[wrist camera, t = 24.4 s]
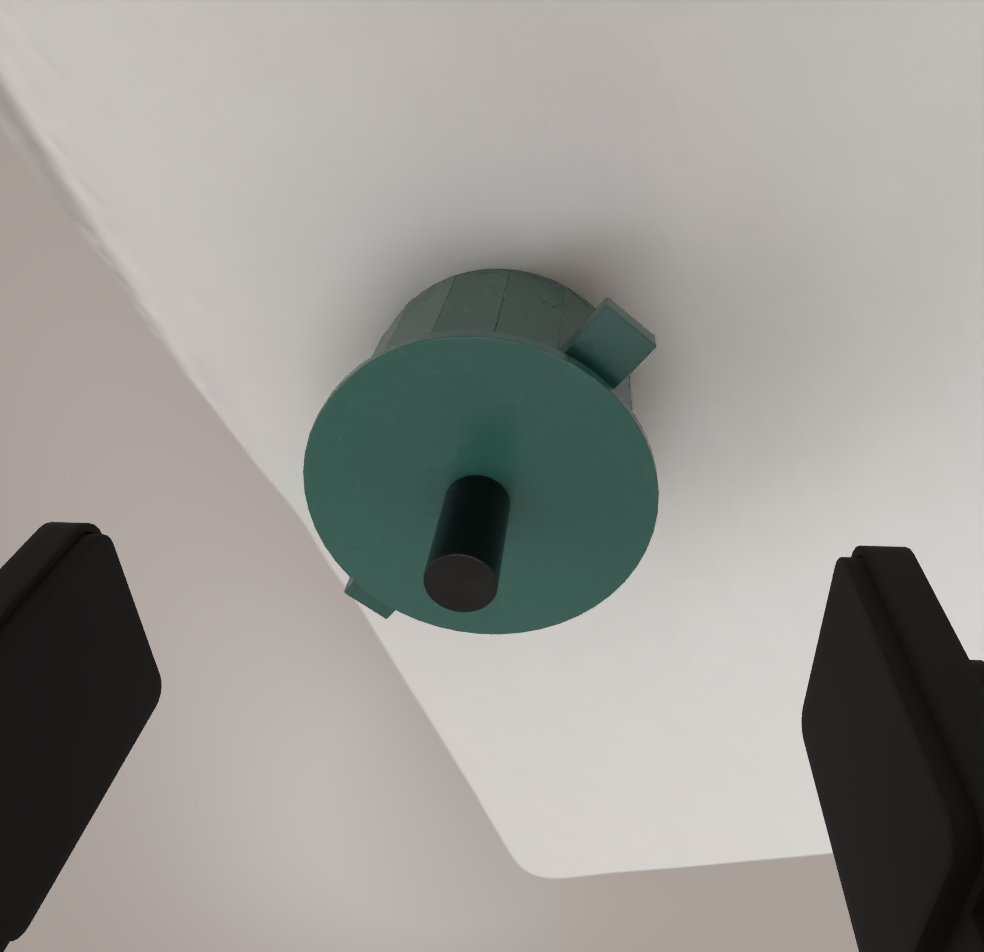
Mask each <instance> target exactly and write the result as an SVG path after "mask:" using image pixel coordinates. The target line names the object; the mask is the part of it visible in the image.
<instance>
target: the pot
mask: <svg viewBox="0 0 984 952" xmlns="http://www.w3.org/2000/svg"><path fill="white" fill-rule="evenodd" d="M469 330H480V331H489V332H499V333H506V334H510V335H514V336H519V337H523V338H528V339H531V340H534V341H536V342H539V343H542V344H545V345H547V346H550V347H553V348H555V349H557V350H559V351H561V352H563V353H565V354H567V355H569V356H570V357H572V358H574V359H576V360H578V361H579V362H581V363H582V364H584V365H585V366H586V367H588V368H589V369H591V370H592V371H594V372H595V373H597V374H598V375H599V376H600V377H601V378H602V379H603V380H604V381H606V382H607V383H608V384H609V385H610V386H611V387H612V388H613V389H614V390H615V391H616V392H617V393H618V394H619V395H620V397H621V398H622V399H623V400H624V401H625V402H626V404H627V405H628V406H629V407H630V409H631V410H632V400H631V388H630V375H629V374H630V373H631V372H632V371H633V370H634V369H635V368H636V367H637V366H638V365H639V364H640V363H641V362H642V361H643V360H644V359H645V358H646V357H647V356H648V355H649V354H650V353H651V352H652V351H653V350H654V349H655V348H656V340H655V336H654V335H653V334H652V333H651V332H650V331H648V330H647V329H646V328H645V327H643V326H642V325H641V324H640V323H639V322H637V321H636V320H635V319H634V318H632V317H631V316H630V315H629V314H628V313H626V312H625V311H624V310H623V309H621V308H620V307H619V306H618V305H617V304H615V303H614V302H613V301H612V300H610V299H609V298H605V299H604V301H603V302H602V303H601V304H600V305H599V306H598V307H597V308H596V309H594V308H593V307H592V306H591V305H590V304H589V303H588V302H587V301H586V300H585V299H583V298H582V297H580V296H579V295H578V294H576V293H575V292H573V291H572V290H570V289H569V288H567V287H565V286H563V285H561V284H559V283H557V282H555V281H553V280H550V279H547V278H545V277H542V276H539V275H536V274H531V273H527V272H523V271H516V270H506V269H489V270H479V271H473V272H467V273H463V274H460V275H457V276H453V277H450V278H448V279H446V280H443V281H441V282H439V283H437V284H435V285H433V286H432V287H430V288H428V289H427V290H425V291H424V292H422V293H421V294H419V295H418V296H417V297H416V298H414V299H412V300H411V301H410V302H409V303H408V304H407V306H406V307H405V308H404V309H403V310H402V312H401V313H400V314H399V315H398V316H397V318H396V319H395V321H394V322H393V324H392V325H391V327H390V328H389V329H388V331H387V332H386V333H385V334H384V336H383V337H382V339H381V341H380V342H379V344H378V346H377V348H376V350H375V352H374V353H373V355H372V357H373V356H374V355H376V354H377V353H379V352H381V351H382V350H385V349H387V348H389V347H392V346H394V345H396V344H398V343H401V342H403V341H406V340H410V339H413V338H417V337H420V336H424V335H427V334H434V333H441V332H448V331H469ZM344 592H345V593H346V594H348V595H349V596H350V597H352V598H354V599H355V600H357V601H358V602H360V603H362V604H363V605H365V606H366V607H368V608H370V609H371V610H373V611H374V612H376V613H378V614H379V615H381V616H382V617H384V618H386V619H387V618H388V617H389V616H390V615H391V614H392V613H393V612H394V611H395V609H393V608H392V607H390V606H388V605H386V604H384V603H383V602H381V601H380V600H378V599H377V598H375V597H374V596H373V595H371V594H370V593H368V592H367V591H365V590H364V589H363V588H362V587H361V586H360V585H358V584H357V583H356V582H355V581H354V580H353V579H352V578H351V577H350V578H349V581H348V583H347V586H346V588H345V591H344Z"/></svg>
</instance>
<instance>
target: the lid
mask: <svg viewBox="0 0 984 952" xmlns="http://www.w3.org/2000/svg"><path fill="white" fill-rule="evenodd" d="M303 475H304V490H305V495H306V500H307V504H308V509H309V512H310V515H311V518H312V520H313V523H314V526H315V528H316V530H317V532H318V534H319V536H320V538H321V540H322V541H323V543H324V545H325V547H326V548H327V550H328V551H329V552H330V554H331V555H332V557H333V558H334V559H335V561H336V562H337V563H338V564H339V565H340V567H341V568H342V569H343V570H344V571H345V572H346V573H347V574H348V575H349V577H351V578H352V579H353V580H354V581H355V582H356V583H357V584H358V585H360V586H361V587H362V588H363V589H364V590H365V591H367V592H368V593H370V594H371V595H373V596H374V597H375V598H377V599H378V600H380V601H381V602H383V603H384V604H386V605H388V606H390V607H392V608H393V609H395V610H397V611H399V612H401V613H403V614H405V615H408V616H410V617H412V618H414V619H417V620H419V621H422V622H425V623H428V624H432V625H435V626H438V627H442V628H446V629H451V630H455V631H461V632H469V633H477V634H509V633H521V632H527V631H533V630H538V629H542V628H546V627H549V626H553V625H556V624H560V623H562V622H565V621H567V620H569V619H572V618H574V617H577V616H579V615H581V614H582V613H584V612H586V611H588V610H590V609H591V608H593V607H595V606H596V605H598V604H599V603H600V602H602V601H603V600H605V599H606V598H607V597H609V596H610V595H611V594H612V593H613V592H614V591H615V590H617V589H618V588H619V587H620V586H621V585H622V584H623V583H624V582H625V581H626V579H627V578H628V577H629V576H630V574H631V573H632V572H633V571H634V569H635V568H636V567H637V565H638V564H639V562H640V560H641V558H642V557H643V555H644V553H645V551H646V550H647V547H648V545H649V542H650V539H651V537H652V534H653V532H654V527H655V522H656V518H657V513H658V496H659V491H658V482H657V473H656V465H655V462H654V458H653V454H652V450H651V447H650V444H649V442H648V440H647V437H646V435H645V433H644V431H643V428H642V426H641V425H640V423H639V421H638V420H637V418H636V417H635V415H634V413H633V412H632V410H631V409H630V407H629V406H628V405H627V404H626V402H625V401H624V400H623V399H622V398H621V397H620V395H619V394H618V393H617V392H616V391H615V390H614V389H613V388H612V387H611V386H610V385H609V384H608V383H607V382H606V381H604V380H603V379H602V378H601V377H600V376H599V375H598V374H597V373H595V372H594V371H592V370H591V369H589V368H588V367H586V366H585V365H584V364H582V363H581V362H579V361H578V360H576V359H574V358H572V357H570V356H569V355H567V354H565V353H563V352H561V351H559V350H557V349H555V348H553V347H550V346H547V345H545V344H542V343H539V342H536V341H534V340H531V339H528V338H523V337H519V336H514V335H510V334H506V333H499V332H489V331H480V330H469V331H448V332H441V333H434V334H427V335H424V336H420V337H417V338H413V339H410V340H406V341H403V342H401V343H398V344H396V345H394V346H392V347H389V348H387V349H385V350H382V351H381V352H379V353H377V354H376V355H374V356H373V357H371V358H369V359H368V360H366V361H364V362H363V363H362V364H360V365H359V366H358V367H357V368H356V369H354V370H353V371H352V372H351V373H350V374H348V375H347V376H346V377H345V378H344V379H343V381H342V382H341V383H340V384H339V385H338V386H337V387H336V388H335V390H334V391H333V392H332V393H331V395H330V396H329V398H328V400H327V401H326V403H325V404H324V406H323V407H322V409H321V411H320V412H319V414H318V416H317V418H316V420H315V423H314V425H313V427H312V430H311V432H310V435H309V439H308V443H307V447H306V451H305V458H304V470H303Z"/></svg>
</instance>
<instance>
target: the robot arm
mask: <svg viewBox="0 0 984 952" xmlns="http://www.w3.org/2000/svg"><path fill="white" fill-rule="evenodd" d="M160 694H161V677H160V674H159V671H158V668H157V665H156V663H155V660H154V657H153V654H152V651H151V648H150V646H149V643H148V640H147V637H146V635H145V632H144V629H143V626H142V623H141V620H140V618H139V615H138V612H137V609H136V607H135V603H134V601H133V598H132V595H131V593H130V590H129V587H128V584H127V581H126V578H125V576H124V573H123V570H122V567H121V564H120V561H119V558H118V556H117V553H116V550H115V547H114V544H113V542H112V540H111V539H110V538H109V537H108V536H107V535H103V534H101V532H100V529H98V528H97V527H96V526H95V525H94V524H90V523H65V522H50V523H46V524H44V525H43V526H41V527H40V528H39V529H38V530H37V531H36V532H35V533H34V534H33V535H32V536H31V537H30V538H29V539H28V540H27V542H25V543H24V545H23V546H22V547H21V548H20V549H19V550H18V551H17V552H16V553H15V554H14V555H13V556H12V557H11V558H10V559H9V560H8V561H7V562H6V564H5V565H4V566H2V568H1V569H0V952H4V950H5V948H6V947H7V945H8V943H9V942H10V941H14V940H16V939H18V938H19V937H20V936H21V935H22V934H23V933H24V932H25V931H26V929H27V928H28V926H29V925H30V923H31V921H32V919H33V918H34V916H35V914H36V913H37V911H38V909H39V908H40V905H41V904H42V902H43V901H44V899H45V897H46V895H47V894H48V892H49V890H50V889H51V887H52V885H53V883H54V882H55V880H56V878H57V877H58V875H59V873H60V871H61V870H62V868H63V866H64V864H65V863H66V861H67V859H68V857H69V856H70V854H71V852H72V851H73V849H74V847H75V845H76V844H77V842H78V840H79V838H80V837H81V835H82V833H83V832H84V830H85V828H86V826H87V825H88V823H89V821H90V820H91V818H92V816H93V814H94V813H95V811H96V809H97V807H98V806H99V804H100V802H101V800H102V799H103V797H104V795H105V793H106V792H107V790H108V788H109V787H110V785H111V783H112V781H113V780H114V778H115V776H116V775H117V773H118V771H119V769H120V767H121V766H122V764H123V762H124V761H125V759H126V757H127V756H128V754H129V752H130V750H131V749H132V747H133V745H134V744H135V742H136V740H137V738H138V737H139V735H140V733H141V731H142V730H143V728H144V726H145V724H146V723H147V721H148V719H149V718H150V716H151V714H152V712H153V711H154V709H155V707H156V705H157V703H158V701H159V697H160ZM802 733H803V739H804V743H805V747H806V751H807V755H808V759H809V762H810V766H811V770H812V774H813V778H814V781H815V785H816V789H817V793H818V797H819V801H820V804H821V808H822V812H823V816H824V820H825V823H826V827H827V831H828V835H829V839H830V843H831V846H832V850H833V854H834V858H835V862H836V865H837V869H838V873H839V877H840V881H841V884H842V888H843V892H844V896H845V900H846V904H847V907H848V911H849V915H850V919H851V923H852V926H853V930H854V934H855V938H856V941H857V945H858V949H859V952H984V662H983V661H982V660H969V658H968V656H967V654H966V652H965V651H964V649H963V647H962V645H961V643H960V641H959V639H958V637H957V635H956V633H955V631H954V630H953V628H952V626H951V624H950V622H949V620H948V618H947V616H946V614H945V612H944V610H943V609H942V607H941V605H940V603H939V601H938V599H937V597H936V595H935V593H934V591H933V590H932V588H931V586H930V584H929V582H928V580H927V578H926V576H925V574H924V572H923V570H922V569H921V567H920V565H919V563H918V561H917V559H916V557H915V555H914V554H913V552H912V551H911V550H910V549H909V548H907V547H886V546H858V547H856V548H855V550H854V551H853V553H852V556H851V557H840V558H839V559H838V560H837V562H836V565H835V569H834V573H833V578H832V582H831V586H830V591H829V595H828V600H827V604H826V608H825V613H824V617H823V622H822V626H821V630H820V635H819V639H818V644H817V648H816V652H815V657H814V661H813V665H812V670H811V674H810V679H809V683H808V687H807V692H806V696H805V701H804V705H803V710H802Z"/></svg>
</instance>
